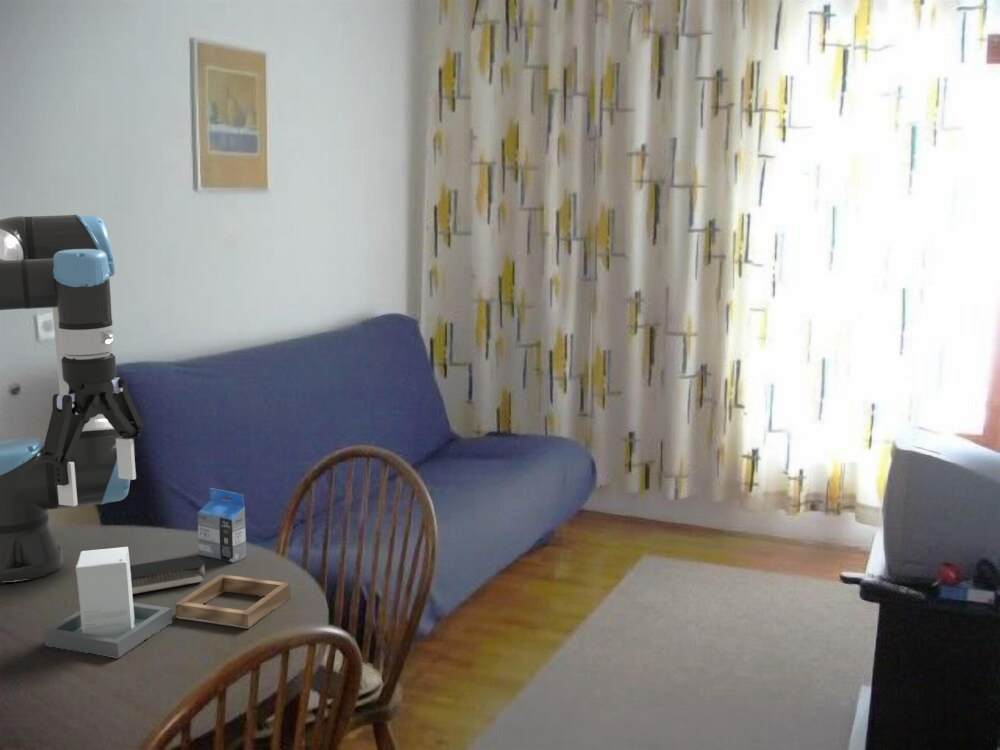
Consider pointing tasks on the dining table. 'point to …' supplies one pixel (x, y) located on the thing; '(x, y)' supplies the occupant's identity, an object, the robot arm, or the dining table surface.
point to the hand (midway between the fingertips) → (99, 491)
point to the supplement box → (105, 592)
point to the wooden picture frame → (270, 589)
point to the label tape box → (222, 527)
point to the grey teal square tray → (72, 637)
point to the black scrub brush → (166, 574)
